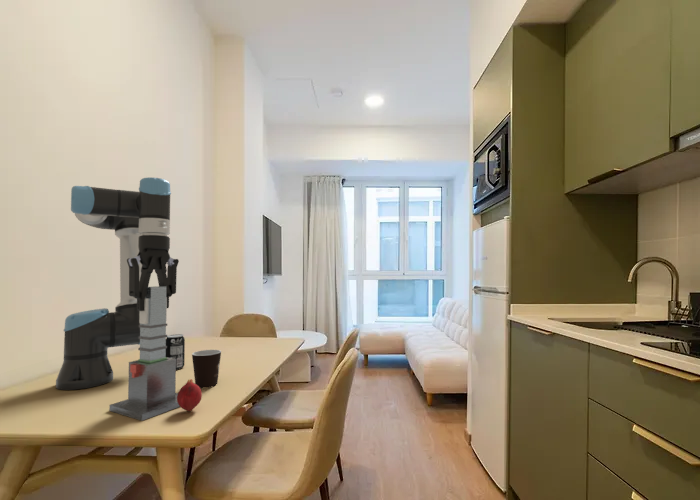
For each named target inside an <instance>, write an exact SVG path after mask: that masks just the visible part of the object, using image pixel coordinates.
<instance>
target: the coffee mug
mask: <svg viewBox="0 0 700 500" xmlns="http://www.w3.org/2000/svg"><path fill="white" fill-rule="evenodd" d="M221 357H222V350H221V349H204V350H197V351H194V352H191V358H192V368H193V374H194V383H195V384H196V385H198V386H199V387H200V389H204V388H203V387H208V388H212V387H211V386H213V387H215V386H217V385H218V383H219V381H218V380H219V373H220V365H221ZM216 384H217V385H216ZM214 385H215V386H214Z"/></svg>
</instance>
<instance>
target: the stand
mask: <svg viewBox="0 0 700 500" xmlns="http://www.w3.org/2000/svg"><path fill="white" fill-rule="evenodd" d="M176 371H177V370H176V359H174V358H168V357H167V360H164V361H159V362H155V363H151V364H146V363H141V362H138V359H136V360H133V361H129V362H128V383H127V384H128V385H127V386H128V388H127V389H128V390H127V391H128V392H127V393H128V395H127V399H124V400H120V401H117V402H115V403H111V404H109V407H108V408H109V409H108V410H109V411H110V412H113V413H116V414H119V415H122V416H125V417H128V418H131V419H136V420H138V421H145V420H148V419H151V418H153V417H156V416H160V415H161V414H165V413H166V412H170V411H172V410H175V409H178V408H181V407H180V406H179V404H178V402H177V395H178V392H176V384H177V383H176V382H177V381H176V379H177V376H176V373H177V372H176Z"/></svg>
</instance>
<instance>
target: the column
mask: <svg viewBox="0 0 700 500" xmlns="http://www.w3.org/2000/svg"><path fill="white" fill-rule="evenodd" d="M145 298H147V299H149V314H148V324H141V323H140V325H139V327H140V336H139V339H140V345H139V347H138V351H139V358H138V359H137V360H138V362H141V363H146V364H151V363H155V362H159V361H164V360H167V357H166V348H167V346H166V338H167V336H168V334H167V326H168V323H167V320H166V286H159V285H157V286H148V289H147V294H146V297H145Z"/></svg>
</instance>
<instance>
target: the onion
mask: <svg viewBox="0 0 700 500" xmlns="http://www.w3.org/2000/svg"><path fill="white" fill-rule="evenodd" d="M202 392H203V391H202V388H200V387H199V386H198V385H196V384H195V382H194V381H193V379H191V378H189V379H188V380H187V382H186V383H185V384H184V385H182V387H181V388H180V389H179V391H178V392H177V393H178V395H177V402H178V404H179V406H180V407H179V408H181V410H184V411H186V412H189V413H190V412H191V411H193V410H194V409H195V408H196V407H197V406H198V405H199V404H200V402H201V400H202V398H203V397H202V396H203V394H202Z"/></svg>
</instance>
